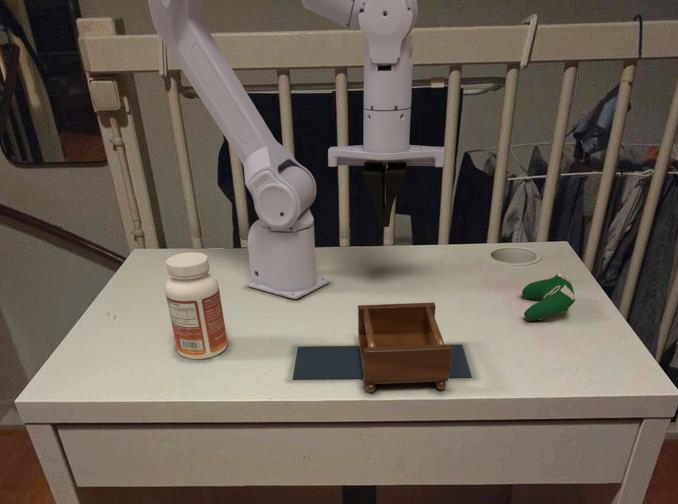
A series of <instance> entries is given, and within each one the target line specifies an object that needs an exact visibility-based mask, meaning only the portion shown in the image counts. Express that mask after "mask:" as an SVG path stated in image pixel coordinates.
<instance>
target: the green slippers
mask: <svg viewBox="0 0 678 504" xmlns="http://www.w3.org/2000/svg"><path fill="white" fill-rule="evenodd" d="M521 295H522V297H523V298H524V299H526V300H527V299H528V300H540V301H537V302H535V303H534V304H532V305H530V306H529V307H528V308H527V309H526V310H525V311H524V313H523V316H524V317H525V320H526V321H527V322H532V321H542V320H544V319H548V318H552V317H554V316H557V315H559V314H562V313H566V312H567V311H568V310H569V308H570V307H571V306H572V305H574V303H575V302H576V295H575V291H574V287H573V285H572V281H571V279H570V277H569V276H568V275H567V274H566V272H564V271H563V270H562V269H560V270H559V272H558V273H557V274H555V275H554V276H553V277H549V278H546V279H541V280H536V281H533V282H531V283H528V284H527V285H526V286H524V287H523V289H522V290H521ZM541 299H542V300H541Z"/></svg>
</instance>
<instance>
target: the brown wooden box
mask: <svg viewBox="0 0 678 504" xmlns="http://www.w3.org/2000/svg"><path fill="white" fill-rule="evenodd" d="M436 307H437V306H436V303H435V302H412V303H411V302H410V303H385V304H381V303H380V304H358V305H357V333H358V334H357V336H358V338H357V339H358V346H359V348H360V356H361V363H362V371H363V378H364V379H363V384H364V385H365V389H366V391H367V392H369V393H373V392H375V390H376V385H383V384H384V385H385V384H408V383H409V384H410V383H413V384H414V383H434V382H435V386H436V388H437V389H438V390H445V388H446V386H447V383H446V382H448V381H449V378H448V377H449V376H450V366H451V356H452V347H451V345H452V344H449V343H448V344H445V341H444V339H443V335H442V333H441V330H440V329H439V325H438V323H437V320H436V318H435V317H436Z"/></svg>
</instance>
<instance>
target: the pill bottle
mask: <svg viewBox="0 0 678 504" xmlns="http://www.w3.org/2000/svg"><path fill="white" fill-rule="evenodd" d="M165 264H166V270H167V274H168V276H169V277H170V278H168V279H167V280H166V282H165V285H164V293H165V298H166V303H167V308H168V312H169V317H170V323H171V327H172V332H173V336H174V341H175V347H176V350H177V352H178V353H179V354H180V355H181V356H182V357H184V358H187V359H191V360H205V359H209V358H212V357H215V356H218V355H220V354H221V353H222V352H224V351H225V350H226V348H227V347H228V338H227V330H226V325H225V318H224V312H223V311H224V310H223V305H222V300H221V298H222V297H221V292H220V287H219V286H220V285H219V282H218V280H217V278H216V277H215V276H214V275H212V274H211V273H209V272H210V262H209V257H208V255H206V254H205V253H202V252H194V251H193V252H182V253H177V254H174V255H172V256H170V257H168V258H167V259H166V261H165Z"/></svg>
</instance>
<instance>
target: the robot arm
mask: <svg viewBox="0 0 678 504" xmlns="http://www.w3.org/2000/svg"><path fill="white" fill-rule="evenodd" d="M300 1H301V4H302V5H303V7H304V8H305V9H306V10H308V11H310V12H313V13H314V14H317V15H319V16H321V17H323V18H326V19H327V20H330V21H332V22H334V23H336V24H338V25H341V26H342V27H345V28H347V29H349V30H351V31H354V32H355V31H358V30H359V29H360V31H361V33H362V35H363V37H364V45H365V47H364V62H363V132H362V133H363V144H360V145H346V146H330V147H329V148H328V150H327V162H328V163H327V165H328V167H331V168H333V167H338V166H363V168H364V169H363V173H362V174H363V177H364V181H365V182H366V184H367V187H368V190H369V192H370V194H371V197H372V200H373V203H374V207H375V211H376V216H377V225H378V227H379V228H389V227H390V224H391V217H392V211H393V207H394V203H395V200H396V197H397V194H398V191H399V189H400V187H401V185H402V183H403V180H404V178H405V175H406V173H407V169H408V167H409V166H410V167H411V166H412V167H413V166H414V167H428V166H429V167H435V168H444V164H445V163H444V161H445V151H446V150H445V148H446V147H445V146H428V145H417V144H415V145H413V144H410V137H411V133H410V132H411V115H412V114H411V113H412V94H413V93H412V92H413V90H412V89H413V75H414V74H413V71H414V61H413V58H412V57H413V56H412V55H413V53H414V52H413V50H414V42H413V35H410V34H411V33H412V31H413V29H414V27H415V26H416V23H417V19H418V13H419V12H418V11H419V9H418V1H417V0H300ZM147 4H148V7H149V12H150V16H151V20H152V24H153V27H154V29H155V31H156V33H157V34H158V36H159V37H160V39H161V40H162V42H163V43H164V45H165V46H166V48H167V50H168V51H169V53H170V54H171V55H172V58H173V59H174V60H175V62H176V64H177V65H178V67H179V68H180V69H181V71H182V73H183V74H184V76H185V77H186V79H187V81H188V83H190V85H191V86H192V88H193V90H194V91H195V93H196V94H197V96H198V98H199V99H200V101H201V103H203V105H204V107H205V108H206V110H207V111H208V112H209V114H210V116H211V118H212V119H213V121H214V122H215V124H216V125H217V127H218V129H219V130H220V131H221V133H222V134H223V136H224V137H225V139H226V141H227V142H228V144H229V145H230V147H231V148H232V150H233V151H234V153H235V154H236V156H237V158H238V159H239V160H240V162H241V163H242V165H243V171H244V184H245V186H246V188H247V190H248V191H249V193H250V195H251V197H252V200H253V204H254V205H253V206H254V210H255V213H256V215H257V217H258V219H257V220H256V221H254V223H252V225H251V226H250V228H249V231H248V235H247V251H248V261H249V262H248V263H249V270H250V279H251V281H249V282H248V283H247V286H248V287H249V288H253V289H256V290H260V291H264V292H267V293H271V294H274V295H278V296H281V297H285V298H287V299H288V298H289V299H292V300H298V299H299V298H302V297H304V296H306V295H308V294H309V293H311V292H313V291H316V290H317V289H319V288H322V287H323V286H325V285H327V284H329V283H330V279H328V278H326V277H321V276H317V264H316V263H317V261H316V243H315V242H316V240H315V239H316V238H315V218H314V217H313V214H312V211H311V210H310V209H311V208H310V207H311V206H312V205H313V203H314V202H315V200H316V196H317V183H316V180H315V178H314V176H313V174H312V173H311V172H310V170H309V169H308V168H306V167H305V166H304V165H302V164H301V163H299V162H298V161H297V160H296V158H294V156H293V154H292V152H291V151H290V150H289V149H288V148H287V147H285V146H284V145H282V143H280V142H278V141H277V139H276V138H275V137H274V135H273V134H272V131H271V129H270V128H269V127H268V125H267V124H266V122H265V120H264V119H263V117H262V115H261V114H260V112H259V110H258V109H257V107H256V105H255V104H254V102H253V101H252V99H251V98H250V96H249V94H248V93H247V91H246V89H245V87H244V86H243V84H242V83H241V81H240V80H239V78H238V76H237V75H236V73H235V71H234V70H233V68H232V67H231V65H230V63H229V62H228V60H227V59H226V57H225V55H224V54H223V52H222V50H221V49H220V47H219V46H218V45H219V44H217V42H216V41H215V38H214V37H213V36H212V34H211V32H210V31H209V29H208V27H207V25H206V24H205V23H204V21H203V19H202V12H203V4H204V0H147Z"/></svg>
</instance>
